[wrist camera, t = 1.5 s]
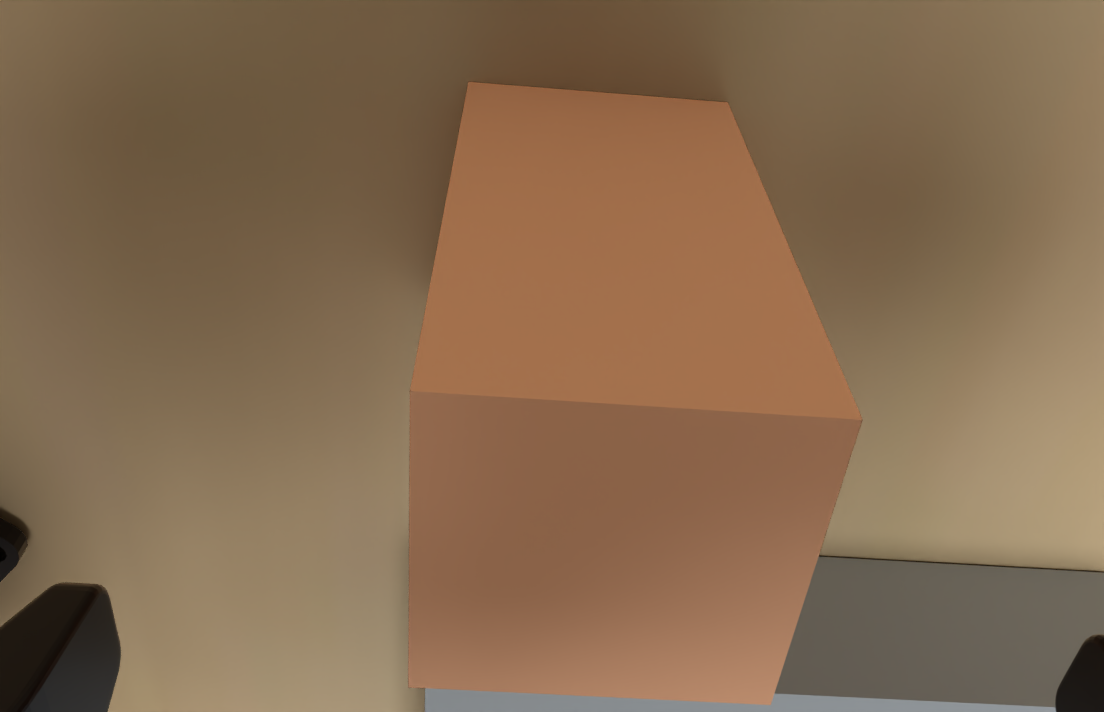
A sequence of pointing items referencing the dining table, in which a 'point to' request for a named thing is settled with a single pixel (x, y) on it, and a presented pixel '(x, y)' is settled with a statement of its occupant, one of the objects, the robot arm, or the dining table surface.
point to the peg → (615, 409)
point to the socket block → (895, 644)
